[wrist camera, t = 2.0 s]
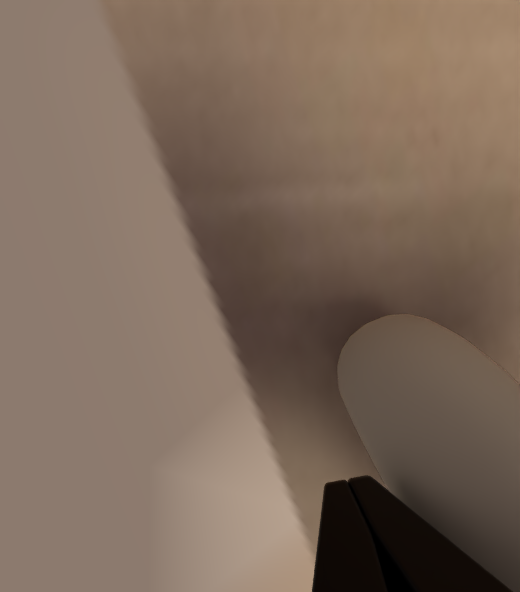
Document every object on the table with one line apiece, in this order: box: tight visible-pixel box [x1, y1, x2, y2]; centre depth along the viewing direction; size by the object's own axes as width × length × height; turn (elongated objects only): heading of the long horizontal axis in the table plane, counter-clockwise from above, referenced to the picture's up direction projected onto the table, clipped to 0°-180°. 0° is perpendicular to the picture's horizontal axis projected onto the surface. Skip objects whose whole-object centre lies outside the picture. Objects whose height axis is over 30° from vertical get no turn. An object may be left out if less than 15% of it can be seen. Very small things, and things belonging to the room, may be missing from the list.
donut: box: [337, 314, 520, 592], centre depth 10 cm, size 10×4×10 cm, turn 32°
